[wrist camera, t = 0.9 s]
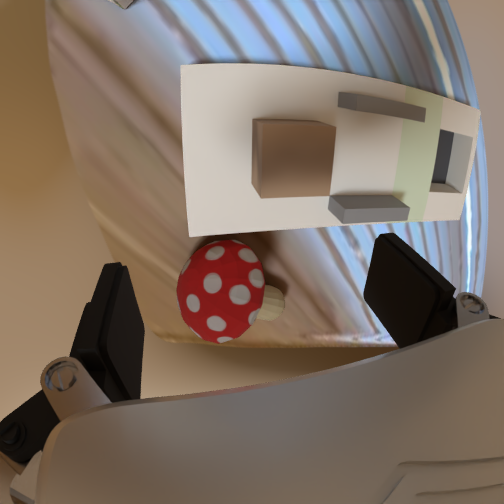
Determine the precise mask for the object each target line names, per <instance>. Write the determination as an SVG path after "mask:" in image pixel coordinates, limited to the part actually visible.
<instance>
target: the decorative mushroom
mask: <svg viewBox="0 0 504 504" xmlns="http://www.w3.org/2000/svg"><path fill="white" fill-rule="evenodd" d="M177 302H178V307H179V310H180V312H181V315H182V317H183V320H184V321H185V323H186V324H187V325H188V327H189V328H190V329H191V330H192V331H194V332H195V333H196V334H197V335H198V336H199V337H200V338H202V339H204V340H206V341H210V342H214V343H222V342H225V341H228V340H231V339H234V338H237V337H240V336H241V335H242V334H243V333H244V332H245V331H246V330H247V329H248V328H249V327H250V326H251V325H252V324H253V323H254V321H255V319H256V318H258V319H262V320H269V321H271V320H274V319H276V318H277V317H278V316H279V315H280V314H281V313H282V312H283V310H284V308H285V300H284V296H283V294H282V292H281V291H280V290H279V289H277V288H275V287H273V286H270V285H265V278H264V273H263V268H262V264H261V262H260V261H259V259H258V258H257V256H256V255H255V253H254V252H253V250H252V249H251V248H250V247H249V246H247V245H245V244H243V243H241V242H239V241H237V240H222V241H214V242H212V243H210V244H207V245H205V246H204V247H202V248H201V249H199V250H197V251H196V252H195V253H194V254H193V255H192V256H191V257H190V259H189V260H188V261H187V262H186V264H185V265H184V267H183V269H182V271H181V273H180V276H179V279H178V284H177Z"/></svg>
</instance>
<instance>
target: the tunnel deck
mask: <svg viewBox="0 0 504 504" xmlns="http://www.w3.org/2000/svg"><path fill="white" fill-rule="evenodd" d="M181 112H182V140H183V160H184V177H185V191H186V205H187V217H188V229H189V237H195V236H207V235H219V234H231V233H244V232H257V231H271V230H285V229H299V228H314V227H330V226H346V225H363V224H381V223H400V222H421V221H443V220H459V219H460V216H461V212H462V209H463V205H464V201H465V197H466V193H467V189H468V184H469V180H470V175H471V170H472V165H473V160H474V155H475V149H476V143H477V136H478V129H479V121H480V113H481V111H480V110H478V109H476V108H473V107H471V106H468V105H465V104H463V103H460V102H457V101H454V100H452V99H449V98H446V97H443V96H440V95H436V94H433V93H430V92H427V91H423V90H420V89H416V88H413V87H409V86H405V85H402V84H398V83H394V82H389V81H385V80H381V79H376V78H371V77H366V76H361V75H356V74H350V73H344V72H338V71H331V70H324V69H316V68H307V67H298V66H286V65H271V64H244V63H219V64H192V65H181ZM252 119H293V120H313V121H320V122H323V123H326V124H329V125H332V126H335V127H336V138H335V150H334V160H333V170H332V180H331V188H330V196H316V197H287V198H265V199H261V198H260V196H259V195H258V193H257V192H256V190H255V189H254V187H253V185H252V184H251V170H252Z"/></svg>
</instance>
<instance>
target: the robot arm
mask: <svg viewBox="0 0 504 504" xmlns="http://www.w3.org/2000/svg"><path fill="white" fill-rule="evenodd" d="M455 290H456V288H455V287H454V286H453V285H452V284H451V283H450V282H449V281H448V280H447V279H445V278H444V277H443V276H442V275H441V274H440V273H439V272H438V271H437V270H436V269H435V268H434V267H433V266H431V265H430V264H429V263H428V262H427V261H426V260H425V259H424V258H423V257H421V256H420V255H419V254H418V253H417V252H416V251H415V250H413V249H412V248H411V247H410V246H409V245H408V244H406V243H405V242H404V241H403V240H402V239H401V238H399V237H398V236H397V235H396V234H394V233H385V234H380V235H379V236H378V238H376V240H375V243H374V248H373V253H372V258H371V262H370V267H369V271H368V276H367V280H366V284H365V288H364V293H363V295H364V299H365V301H366V303H367V304H368V305H369V307H370V308H371V309H372V311H373V312H374V313H375V315H376V316H377V317H378V319H379V320H380V322H381V323H382V324H383V326H384V327H385V328H386V330H387V331H388V333H389V334H390V335H391V337H392V338H393V340H394V341H395V343H396V344H397V345H398V347H399V348H400V349H398V350H395V351H392V352H388V353H385V354H382V355H379V356H376V357H372V358H369V359H365V360H362V361H359V362H355V363H351V364H347V365H343V366H340V367H336V368H332V369H328V370H324V371H320V372H316V373H311V374H307V375H302V376H297V377H293V378H288V379H283V380H278V381H273V382H268V383H263V384H256V385H251V386H245V387H238V388H231V389H224V390H217V391H209V392H202V393H194V394H185V395H176V396H166V397H154V398H145V399H140V393H141V372H142V358H143V345H144V334H145V333H144V332H145V330H144V323H143V320H142V317H141V314H140V310H139V307H138V304H137V300H136V297H135V293H134V290H133V286H132V283H131V279H130V275H129V272H128V268H127V266H122V264H121V263H120V262H116V263H108V264H105V265H104V267H103V269H102V272H101V275H100V277H99V280H98V283H97V286H96V288H95V291H94V294H93V297H92V300H91V302H88V303H86V306H85V308H84V311H83V314H82V317H81V320H80V323H79V326H78V329H77V332H76V336H75V339H74V342H73V346H72V349H71V352H70V356H69V357H60V358H57V359H55V360H53V361H51V362H50V363H49V364H48V365H47V366H46V367H45V368H44V370H43V372H42V374H41V380H40V383H41V386H42V390H41V391H39V392H38V393H37V394H36V395H34V396H33V397H31V398H30V399H29V400H28V401H26V402H25V403H23V404H22V405H21V406H19V407H18V408H17V409H15V410H14V411H13V412H12V413H10V414H9V415H8V416H6V417H5V418H4V419H3V420H2V421H1V422H0V504H504V319H501V318H498V317H495V316H492V315H489V312H488V308H487V305H486V303H485V302H484V301H483V300H482V299H481V298H480V297H478V296H476V295H475V294H472V293H468V292H462V293H460V294H458V295H457V297H456V299H455V298H454V297H453V295H454V292H455Z"/></svg>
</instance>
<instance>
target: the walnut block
mask: <svg viewBox="0 0 504 504" xmlns="http://www.w3.org/2000/svg"><path fill="white" fill-rule="evenodd" d="M335 138H336V127H335V126H332V125H329V124H326V123H323V122H320V121H313V120H293V119H252V170H251V184H252V185H253V187H254V189H255V190H256V192H257V193H258V195H259V196H260V198H261V199H265V198H287V197H316V196H330V188H331V180H332V170H333V160H334V150H335Z"/></svg>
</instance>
